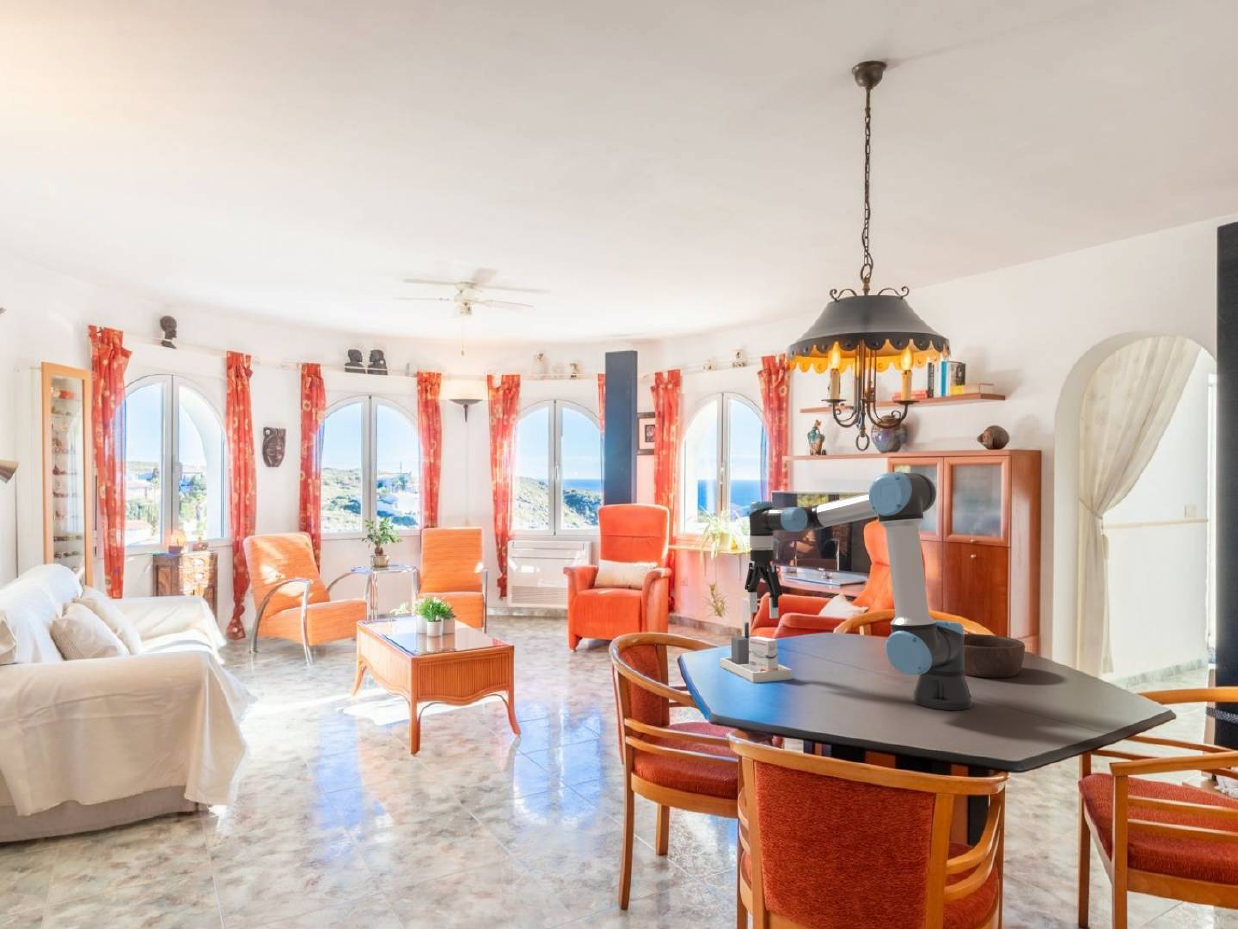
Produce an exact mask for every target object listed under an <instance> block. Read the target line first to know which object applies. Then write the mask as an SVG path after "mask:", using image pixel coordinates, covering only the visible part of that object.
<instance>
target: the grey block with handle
mask: <svg viewBox="0 0 1238 929" xmlns="http://www.w3.org/2000/svg"><path fill="white" fill-rule="evenodd" d="M749 623H750V622H747V621H746V622H744V635H743V636H732V637H731V636H730V638H731V640H730V641H731V644H730V645H731V646H730V647H731V648H730V649H731V657H732V662H733V663H735V664H737V665H741V664H749V638H750V637H757V636H758V635H750V629H749V628H750V624H749Z"/></svg>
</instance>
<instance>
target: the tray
mask: <svg viewBox="0 0 1238 929" xmlns="http://www.w3.org/2000/svg"><path fill="white" fill-rule="evenodd" d="M719 660H720V661H719V664H720V665H719V666H720V667H719V668H721V669H723V670H725V671H727V672H730V673H731V674H734V675H736V676H738V677H740V678H741V679H744V680H745V681H746V680H747V681H749V682H750V683H764V682H765V683H767V682H777V681H778V682H779V681H787V680H789V681H790V680H793V669H791V668H789V667H787V666H785V665H782V664H780V663H778V670H777V669H774V670H765V671H762V672H753V671H750V670H749V664H741V665H737V664H735V663H733V662H732V656H731V657H730V656H729V657H720V658H719Z"/></svg>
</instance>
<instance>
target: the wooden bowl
mask: <svg viewBox="0 0 1238 929" xmlns="http://www.w3.org/2000/svg"><path fill="white" fill-rule="evenodd" d="M964 636H965V637H964V673H965V676H970V677H975V678H976V677H979V678H989V679H1002V678H1003V679H1004V678H1005V679H1006V678H1012V677H1015V676H1016V675H1017V674H1019V672H1020V670H1021V668H1022V666H1023V663H1024V657H1025V651H1026V645H1025V643H1024V642H1022V641H1021V640H1019V639H1015V638H1012V637H1007V636H1000V635H993V634H985V633H984V634H982V633H980V634H979V633H964Z"/></svg>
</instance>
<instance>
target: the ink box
mask: <svg viewBox="0 0 1238 929" xmlns="http://www.w3.org/2000/svg"><path fill="white" fill-rule="evenodd" d="M756 636H757V637H750V638H749V670H750V671H753V672H762V671H765V670H774V669H777V670H778V664H779V659H778V658H779V657H778V656H779V655H778V654H779V653H778V649H779V648H778V639H774V638H770V637H763V636H758V635H756Z"/></svg>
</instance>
